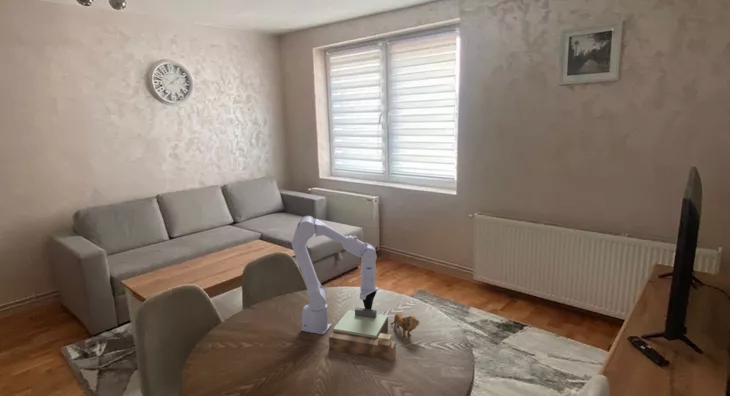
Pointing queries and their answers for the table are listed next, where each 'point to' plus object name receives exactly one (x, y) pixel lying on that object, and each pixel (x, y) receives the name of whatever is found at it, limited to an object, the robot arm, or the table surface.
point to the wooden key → (384, 339)
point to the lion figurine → (405, 323)
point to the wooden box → (362, 345)
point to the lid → (361, 322)
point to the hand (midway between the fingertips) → (368, 309)
